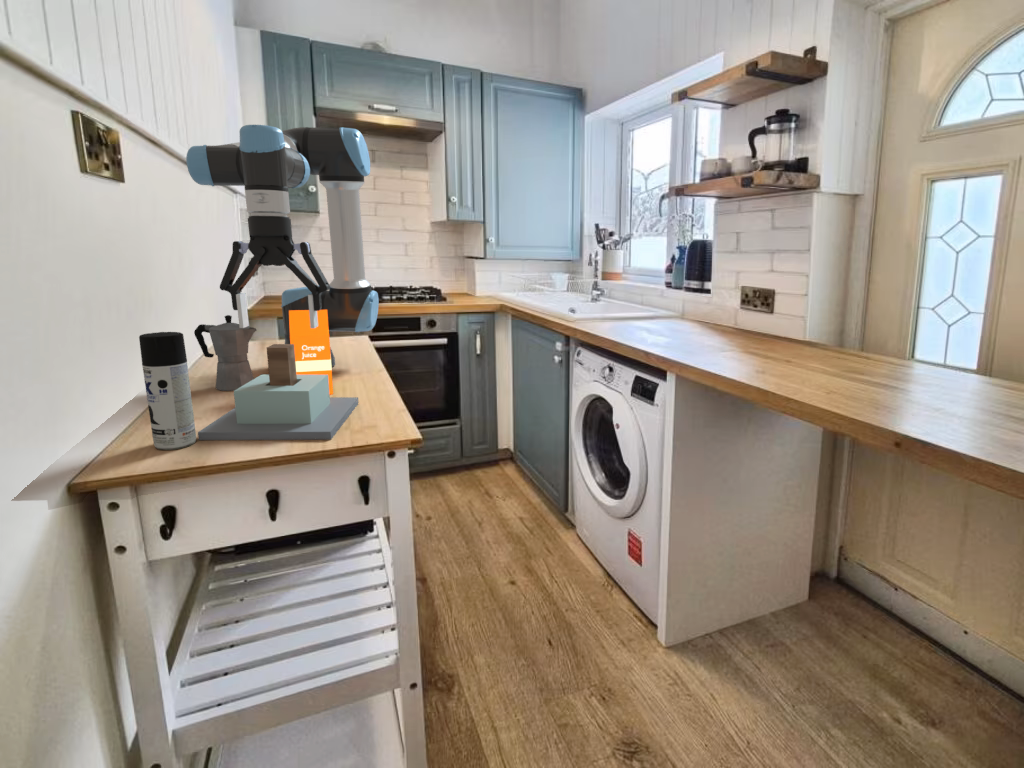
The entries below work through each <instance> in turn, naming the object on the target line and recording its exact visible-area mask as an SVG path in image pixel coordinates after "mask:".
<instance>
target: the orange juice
mask: <svg viewBox="0 0 1024 768" xmlns="http://www.w3.org/2000/svg"><path fill="white" fill-rule="evenodd" d="M317 316H318V327H316V328H310V315H309V310H291V311H289V325H290V344H294V350H295V362H296V374H310V375H328V380H329V395H333V394H334V386H333V385H334V384H333V369H332V368H333V367H332V366H331V354H330V347H331V343H330V342H331V341H330V331H329V329H328V314H327V310H320V311H317Z"/></svg>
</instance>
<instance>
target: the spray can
mask: <svg viewBox="0 0 1024 768" xmlns="http://www.w3.org/2000/svg"><path fill="white" fill-rule="evenodd" d="M138 338H139V348H140V356H141V365H142V371H143V378H144V379H143V380H144V384H145V392H146V399H147V407H148V413H149V419H150V420H149V421H150V428H151V434H152V441H153V446H154V447H155V449H157V450H160V451H173V450H180V449H185V448H187V447H190V446H192V445H194V444H195V443H196V441H197V433H196V426H195V425H196V424H195V417H194V416H195V415H194V409H193V408H194V407H193V401H192V400H193V399H192V393H191V392H192V391H191V384H190V376H189V369H188V358H187V351H186V345H185V338H184V334H183V333H182V332H180V331H179V332H178V331H159V332H150V333H142V334H140V335H139V337H138Z"/></svg>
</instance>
